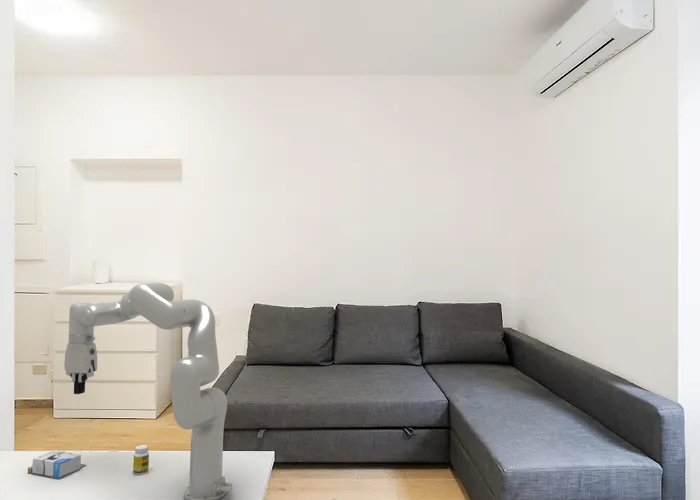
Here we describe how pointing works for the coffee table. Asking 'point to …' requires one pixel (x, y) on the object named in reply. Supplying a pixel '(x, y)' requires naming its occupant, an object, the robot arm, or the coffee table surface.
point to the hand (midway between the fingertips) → (79, 393)
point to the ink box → (56, 463)
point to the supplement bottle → (141, 460)
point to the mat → (47, 475)
